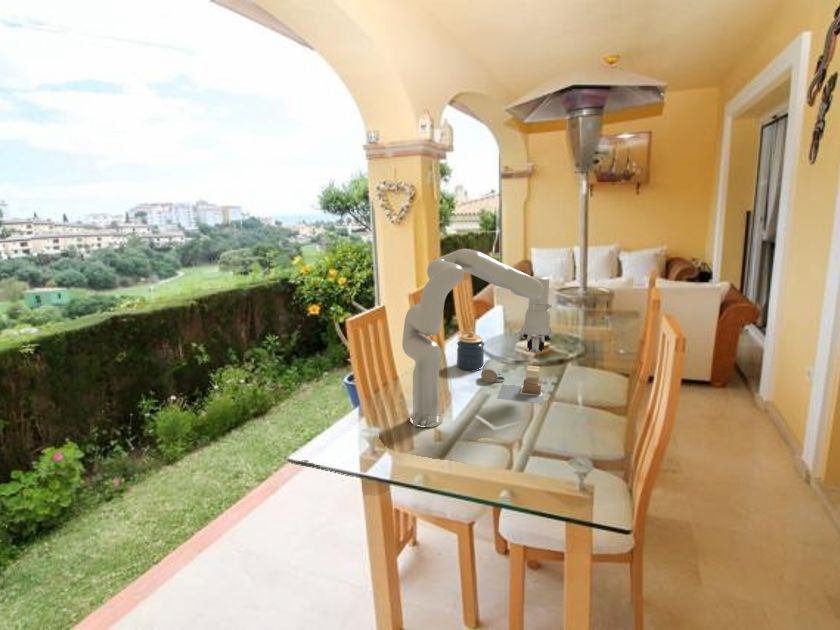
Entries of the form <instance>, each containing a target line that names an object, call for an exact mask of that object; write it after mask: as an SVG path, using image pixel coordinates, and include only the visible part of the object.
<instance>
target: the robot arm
mask: <svg viewBox="0 0 840 630" xmlns="http://www.w3.org/2000/svg"><path fill="white" fill-rule="evenodd" d="M465 273H468V274H470V275H473V276H474V277H477V278H479V279H481V280H483V281H485V282H488V284H489V283H490V284H491V285H494V286H496V287H499V288H502V289H507V290H509V291H511V293H512V294H514V295H516V296H518V297H523V298H525V299H528V308H526V310H525V315H524V323H523V326H522V327H521V329H520V330H519V332H518V333H519V334H520V335H522V337H523V338H524V339H525V340H526V341H527V345H526V348H527V349H528V351H529V352H531V351H530V350H531V336H540V337H541V343H540V352H539V353H541V352H543V350H545V342H546V341H548V340H549V339H550V338H553V337H554V336H555V334H554V333H555V332H554V331H553V329H552V328H551V313H550V310H549V309H552V304H549V295H550V294H549V293H550V278H549V277H547V276H544V275H534V276H531V275H528V274H526V273H524V272H522V271H520V270H517V269H515V268H513V267H511V266H509V265H507V264H504V263H503V262H500V261H499V260H497V259H494V258H492V257H491V256H489V255H487V254H484V253H483V252H481V251H478V250H475V249H470V248H460V249H457V250H454V251H452V252H450V253H447V254H445V255H443V256H440V257H437V258H435V259H433V260H432V261H431V262H430V263H429V264H428V265H427V269H426V274H427V277H428V278H429V280H428V281H427V282H426V284H425V285H424V287H423V288H422V292H421V296H420V301H419V304H414V305H412V306H411V307H409V309H408V310H407V311H406V314H405V318H404V323H403V324H404V325H403V334H402V342H401V345H402V349H403V353H404V354H405V355H406V356H408V357H409V358H411V359H412V360H413V361H414V363H415V365H414V368H413V371H412V413H410V414H409V416H410V418H412V420H413V425H412V426H414V427H417V425H420V426H425V427H430V428H434V427H437V426H440V425H441V424H442V423H443V420H444V419H443V415H442V414H441V413H440V412H439V410H440V409H439V406H440V405H439V404H440V402H439V400H440V399H439V397H440V396H439V395H440V394H439V391H440V389H439V387H440V386H439V385H440V382H439V381H440V379H439V376H440V367H441V366H440V364H441V361H442V350H441V347H440V345H439V344H438V343H437V342H436V341H434V340H432V339H431V338H429V337H435V336H436V335H438V333H440V331H441V327H442V323H443V317H444V316H443V315H444V307H445V301H446V299H447V296H448V294H449V293H450V292H451V291H452V290H453V289H454V288H456V287H457V286H459V285H460V284H461V282H462V281H463V280H464V276H465ZM427 336H428V337H427Z"/></svg>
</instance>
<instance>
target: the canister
mask: <svg viewBox="0 0 840 630" xmlns="http://www.w3.org/2000/svg"><path fill="white" fill-rule="evenodd" d="M483 340H484V338H483V337H482V336H480V335H478V334H475V333H474V332H473V331H469V332H468V333H466V334H463V335H462V336H460V337H459V338H458V341H457V343H456V344H457V349H456V351H457V353H456V354H457V355H456V356H457V358H456V359H457V360H456V365H457V368H458V369H460V370H463V371H466V372H467V371H468V372H473V371H472V370H477V369H479V368H481V367H482V366H484V365H485V362H484V356H485V355H484V354H485V353H484V352H485V349H484V346H485V342H484V341H483ZM483 364H484V365H483ZM477 371H478V370H477Z"/></svg>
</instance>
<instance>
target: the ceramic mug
mask: <svg viewBox="0 0 840 630" xmlns="http://www.w3.org/2000/svg"><path fill="white" fill-rule="evenodd" d="M498 375H502V374H501V373H500V366H499V365H498V364H496V363H495V362H492V361H491V362H486V363H484V365H483V368H482V369H481V374H480V377H481V380H482V382H485V383H502V382H501V381H503V380H502V379H500V378H499V377H498Z"/></svg>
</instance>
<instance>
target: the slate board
mask: <svg viewBox="0 0 840 630" xmlns="http://www.w3.org/2000/svg"><path fill="white" fill-rule="evenodd" d="M544 396H545V393H544V394H543V393H542V392H541V393H540V395H537V394H529V393H523V386H522V387H521V386H515V385H509V386H508V385H504V384H503V385H502V384H501V386H500V389H499V392H498V394H497V397H496V398H497V399H498V400H508V401H516V402H523V403H525V402H526V403H533V404H540V405H541V404H544V403H543V402H544Z"/></svg>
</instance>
